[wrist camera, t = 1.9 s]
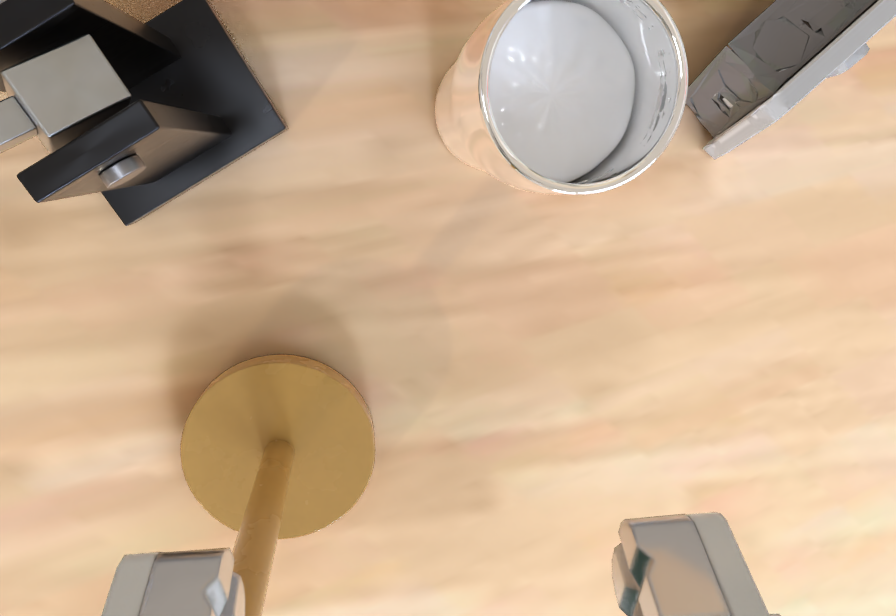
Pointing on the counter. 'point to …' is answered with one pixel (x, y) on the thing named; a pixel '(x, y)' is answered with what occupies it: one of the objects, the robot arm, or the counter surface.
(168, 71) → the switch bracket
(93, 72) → the switch lever
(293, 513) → the desk lamp
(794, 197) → the counter surface
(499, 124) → the beer glass
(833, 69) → the electrical switch
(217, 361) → the counter surface
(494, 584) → the counter surface
